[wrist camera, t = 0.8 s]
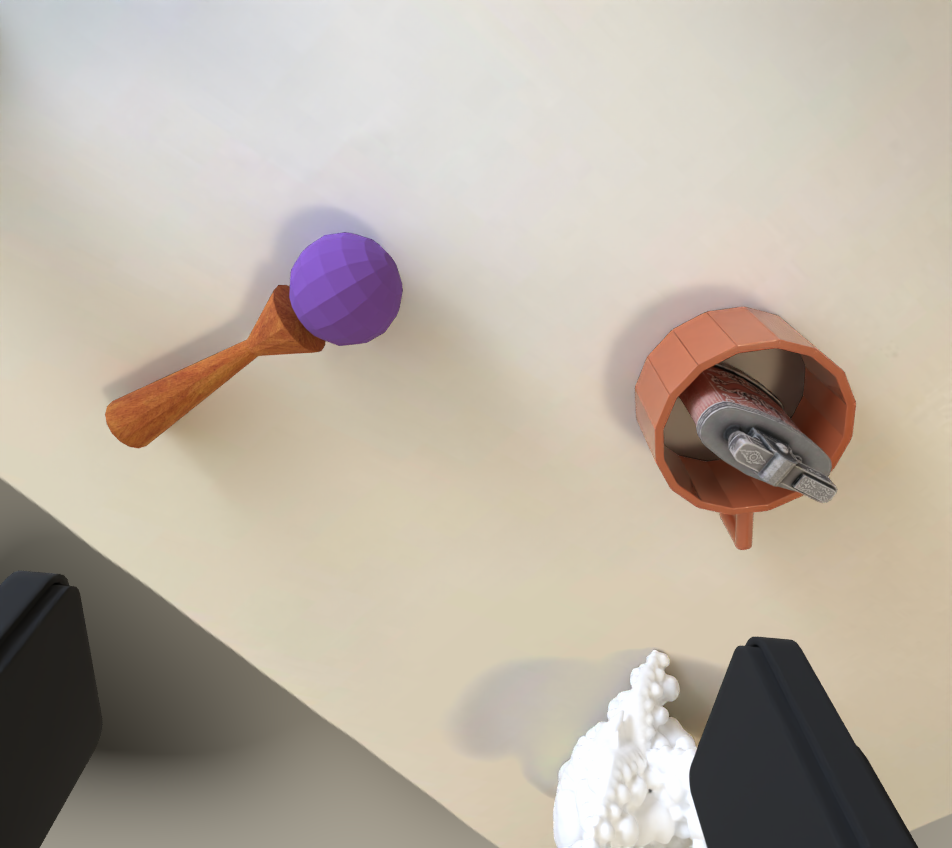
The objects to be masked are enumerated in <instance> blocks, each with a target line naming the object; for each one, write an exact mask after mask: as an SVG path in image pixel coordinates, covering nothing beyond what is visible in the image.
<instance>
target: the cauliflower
mask: <svg viewBox="0 0 952 848" xmlns="http://www.w3.org/2000/svg"><path fill="white" fill-rule="evenodd" d="M646 660H647V662H646V663H645V664H641V665H640V666H639V667H637V668H634V669H633V670H632V672H631V676H630V684H631V686H632V689H631V690H627V691H622V692H620V693H619V694H618V696H617V697H616V698H614V699H612V700H611V702H610V703H609V705H608V713H607V716H608V719H609V721H608V722H599V723H597V724H596V726H593V727H592V728H591V729H589V730H588V732H587V733H586V736H582V737H580V738H579V740H578V742H577V744H576V746H575V747H574V749H573V752H572V755H571V758H570V760H569V761H566V762H565V763H564V764H563V765H562V767H561V769H559V773H558V778H559V784H558V786H557V794H556V798H555V804H554V811H553V821H554V829H553V830H554V839H555V843H556V845H557V848H707V846H706V842H705V839H704V836H703V832H702V829H701V826H700V823H699V819H698V816H697V813H696V809H695V806H694V803H693V799H692V796H691V792H690V786H689V771H690V766H691V763H692V761H693V758H694V755H695V753H696V750H697V747H696V746H695V741H694V739H693V738H692V736H691V735H690V734H689V733H687V732H686V731H685V730H684V729H683V727H682V726H681V724H680V723H679V721H678V720H677V719H675V718H673V717H670V718H669V713H668V710H667V709H665V708H664V707H662V706H663V705H664V704H665V703H666V702H668V701H674V700H675V699H677V697H678V695H679V691H680V688H679V684H678V681H677V679H676V678H675V677H674V676H671V675H667V674H666V673H665V672H664V669H665V667H667V666H668V665H669V663H670V659H669V657H668V656H667V655H666V654H665V653H661V652H658V651H657V650H653V651H652V653H651V654H649V655H648V656H647V658H646Z"/></svg>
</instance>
